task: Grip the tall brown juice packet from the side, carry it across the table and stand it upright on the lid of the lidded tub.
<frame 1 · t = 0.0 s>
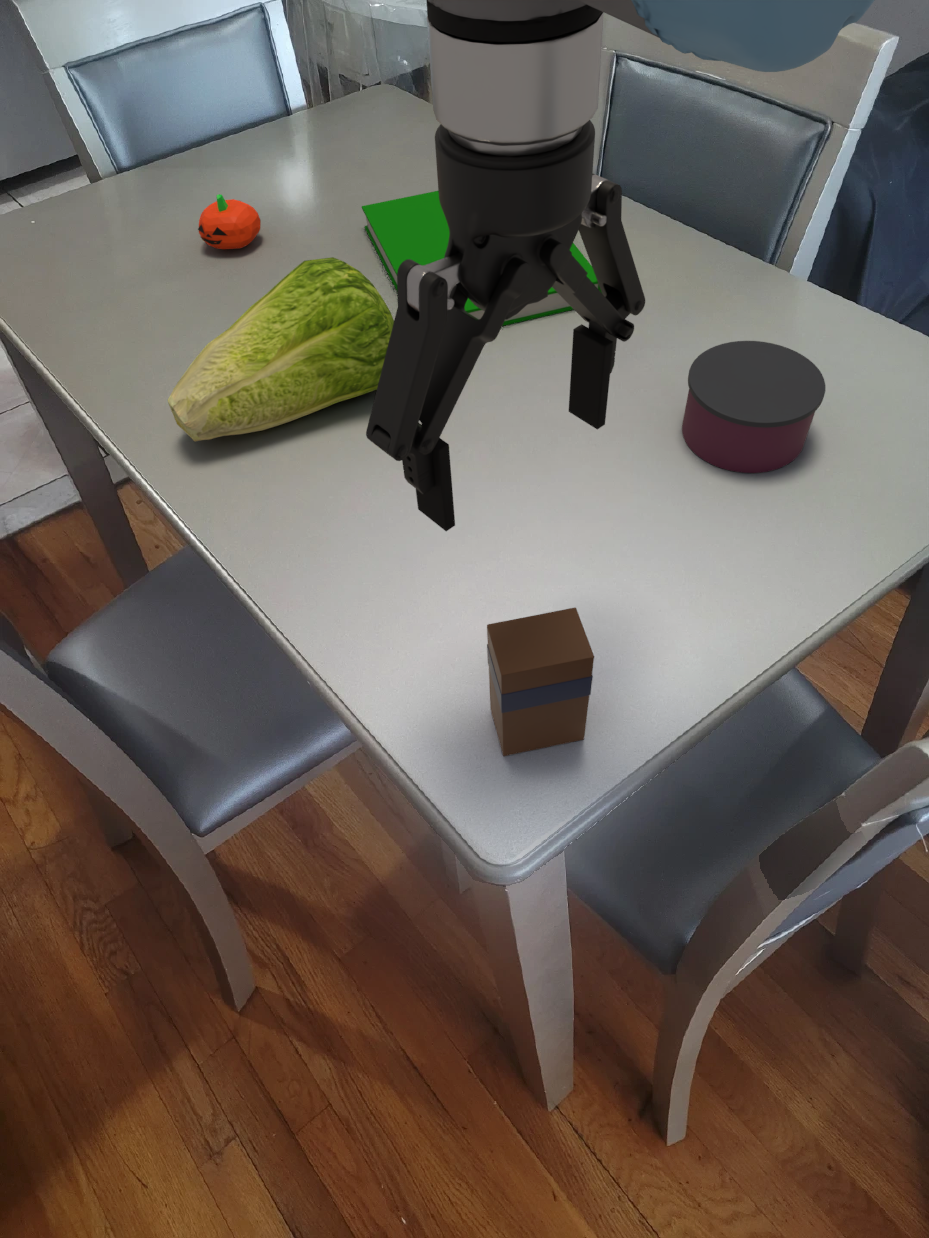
hand: (514, 466, 57), 20 cm above the table, tool pointing down, fingers open, 13 cm apart
lidded tub: (742, 432, 87), on the table
pumpkin: (235, 245, 115), on the table
packet: (536, 724, 67), on the table
lettuce: (289, 403, 94), on the table
book: (477, 264, 109), on the table
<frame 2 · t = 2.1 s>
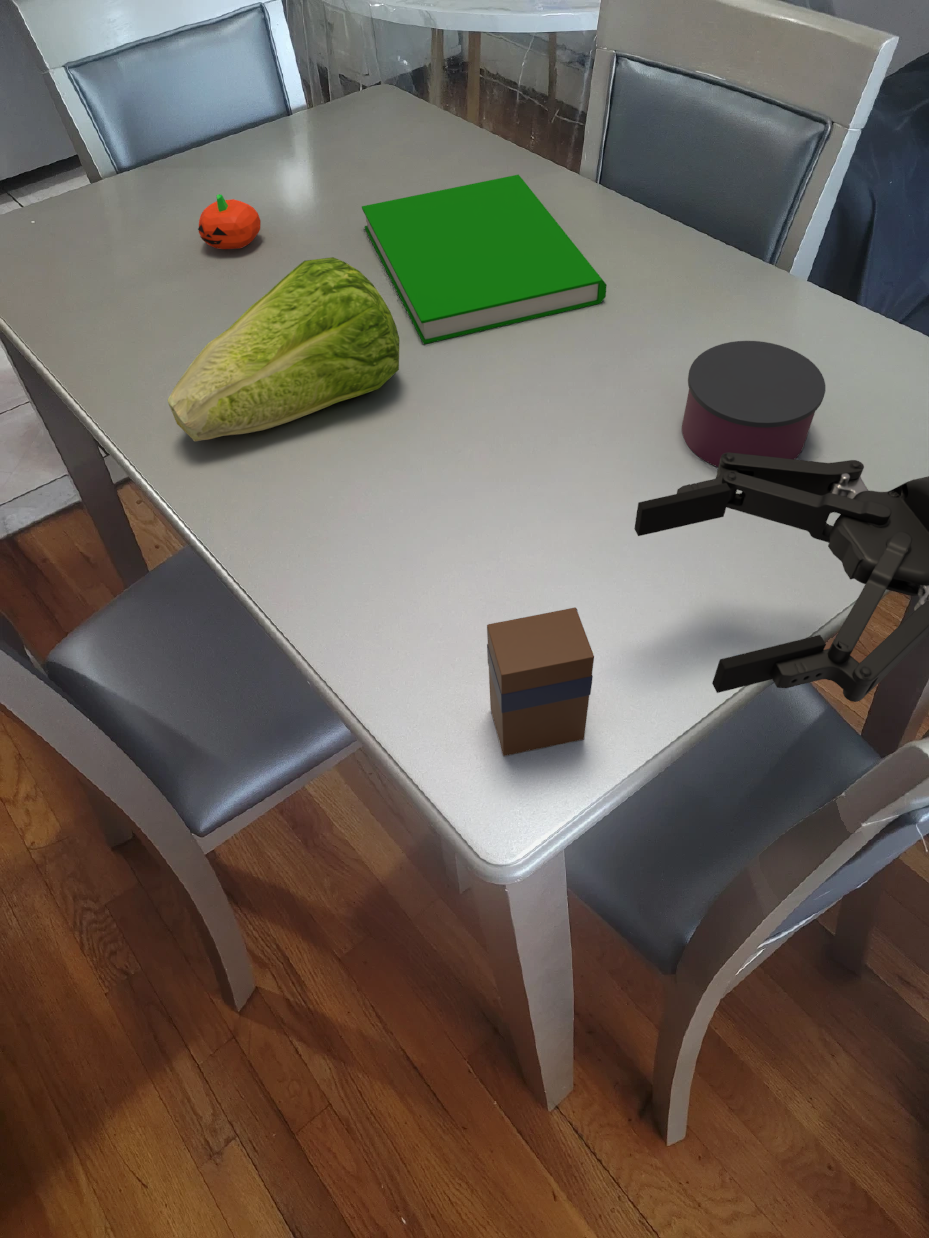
hand: (674, 592, 57), 14 cm above the table, tool horizontal, fingers open, 13 cm apart
nothing on the table moved.
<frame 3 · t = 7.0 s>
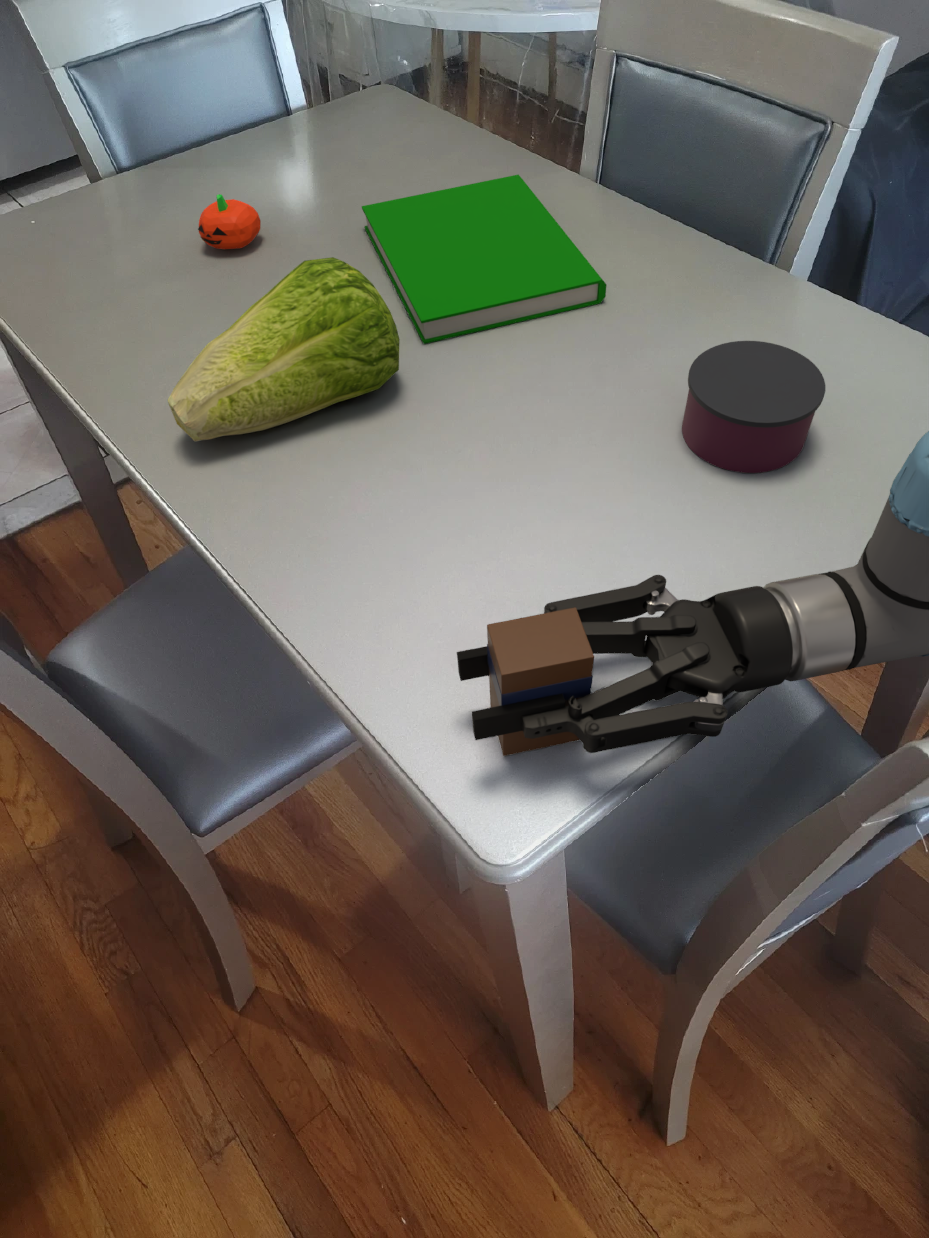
hand: (466, 695, 62), 6 cm above the table, tool horizontal, fingers closed on packet, 4 cm apart
packet: (536, 724, 67), on the table, touching gripper
everything else where it was.
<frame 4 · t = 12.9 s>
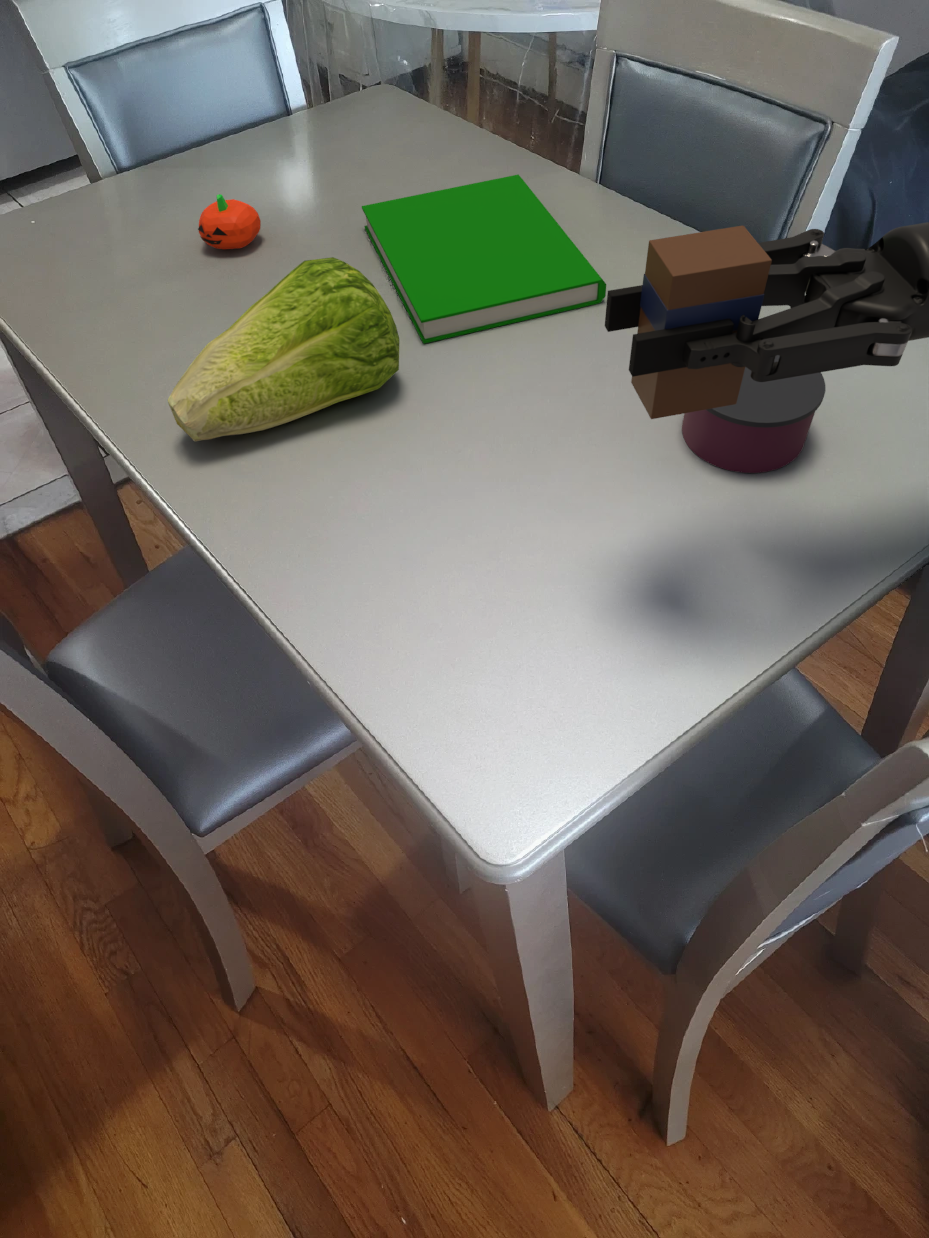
hand: (620, 333, 58), 24 cm above the table, tool horizontal, fingers closed on packet, 4 cm apart
packet: (682, 393, 63), point 18 cm above the table, touching gripper
everything else where it was.
when the fingers open (12 cm above the table, at t = 18.9 s): packet stays where it is, resting on lidded tub.
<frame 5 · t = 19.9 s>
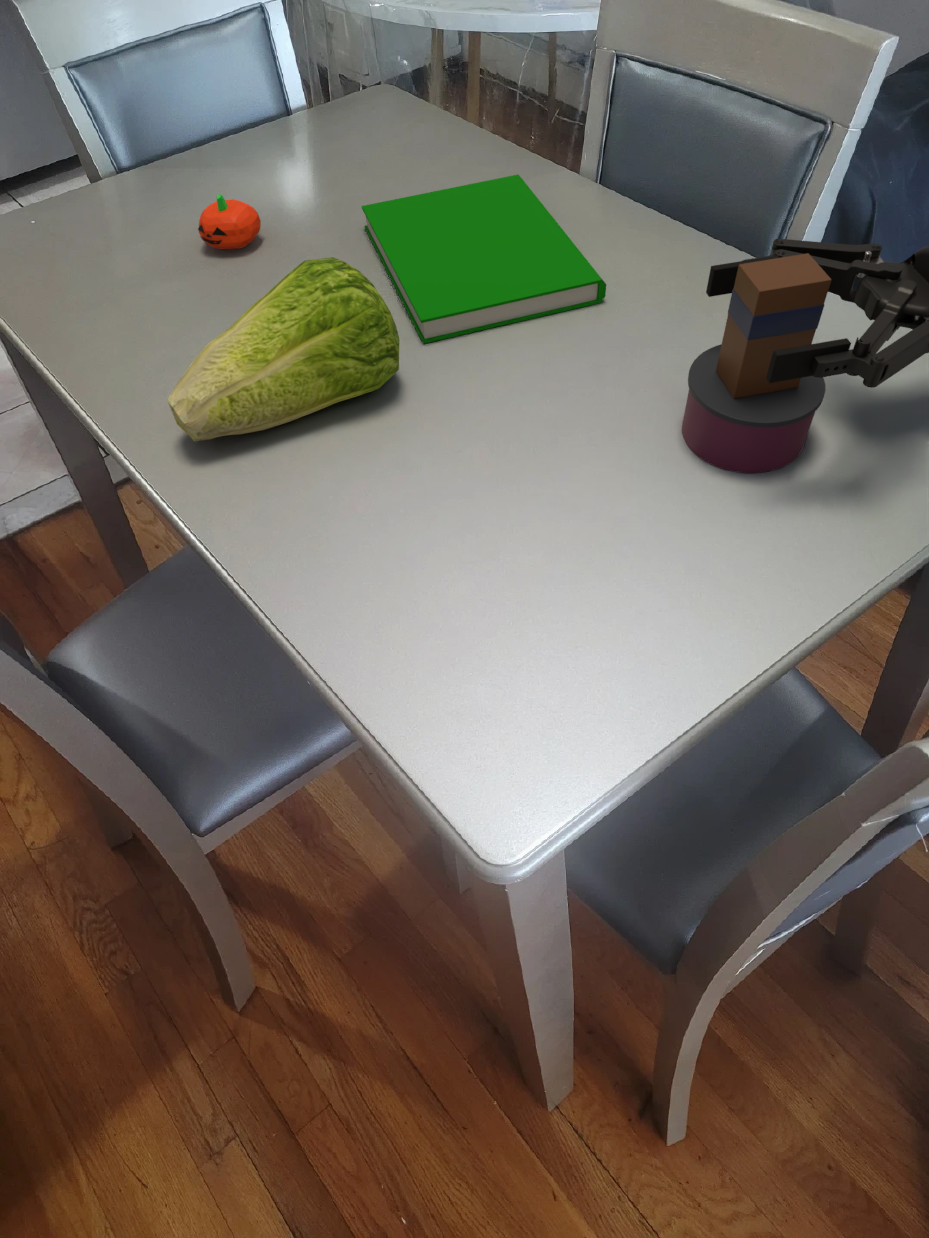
hand: (738, 322, 76), 13 cm above the table, tool horizontal, fingers open, 13 cm apart
lidded tub: (742, 432, 87), on the table, touching packet
packet: (756, 379, 82), point 6 cm above the table, touching lidded tub
everything else where it was.
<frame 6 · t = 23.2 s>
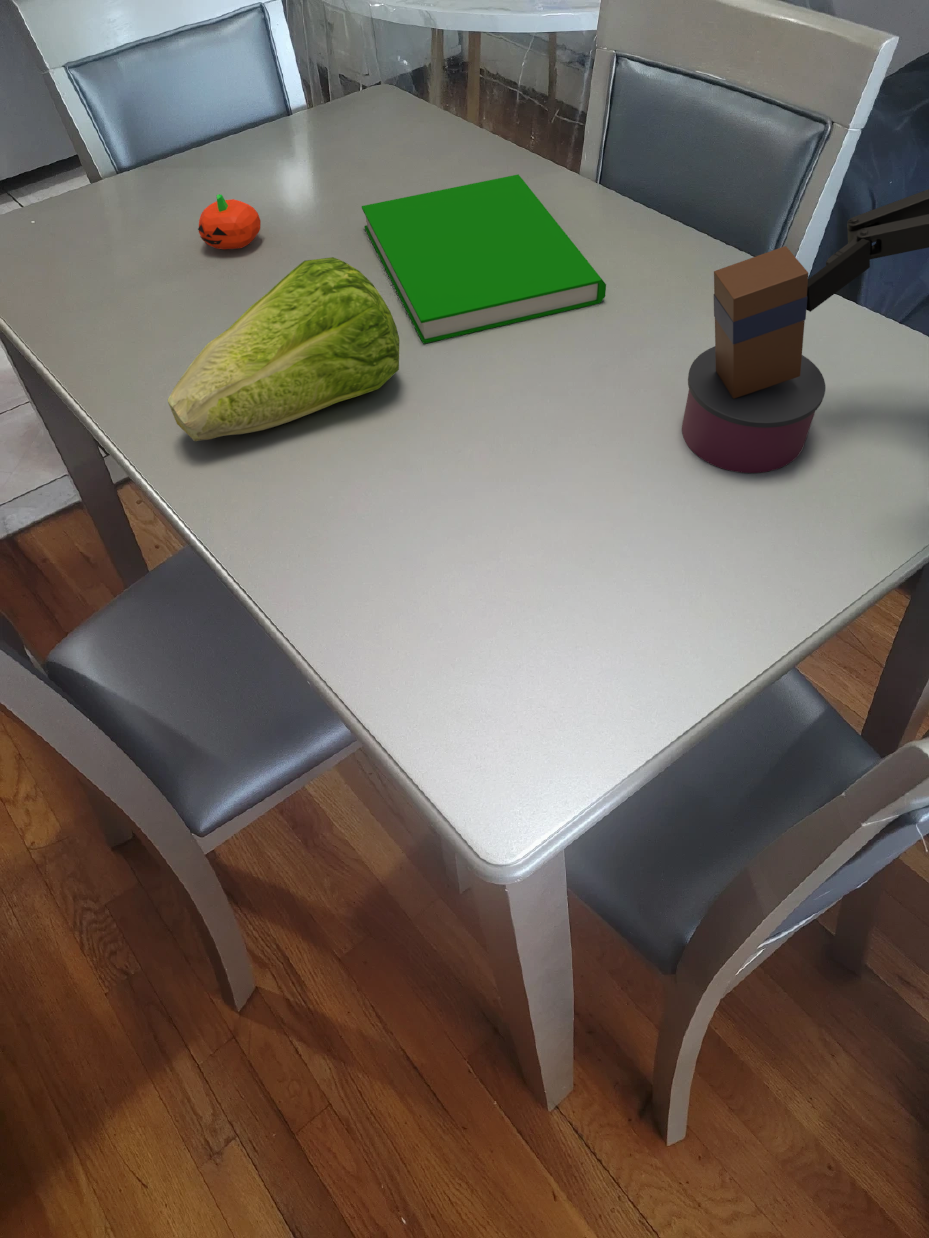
hand: (865, 331, 70), 16 cm above the table, tool tilted 70°, fingers open, 13 cm apart
packet: (757, 373, 82), point 7 cm above the table, tilted 12°, touching lidded tub
everything else where it was.
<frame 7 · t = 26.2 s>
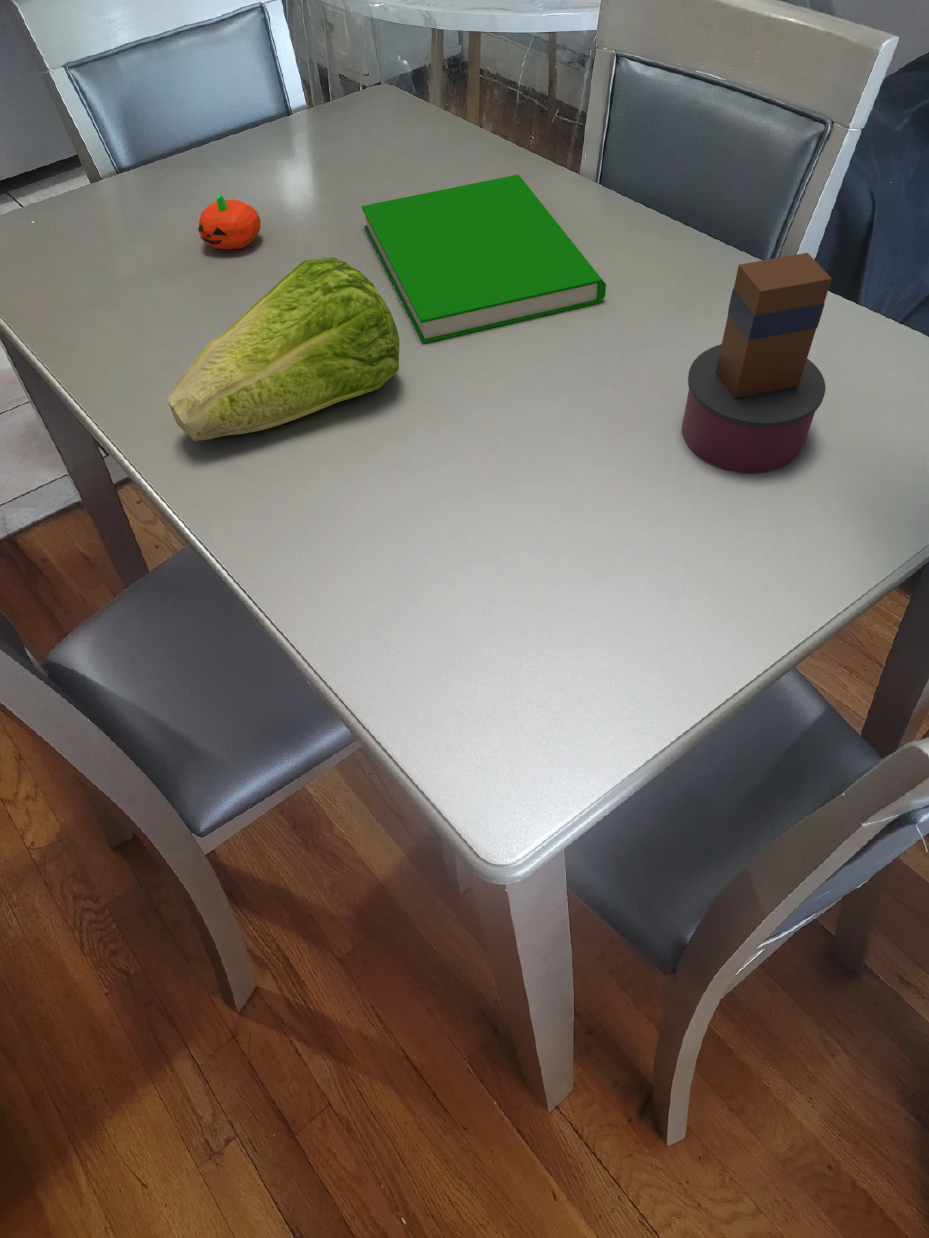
packet: (756, 379, 82), point 6 cm above the table, touching lidded tub
everything else where it was.
at the end: packet inside the target area on the lidded tub (0.1 cm from its centre), point 6.4 cm above the lidded tub's base; packet tilted 0° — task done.
